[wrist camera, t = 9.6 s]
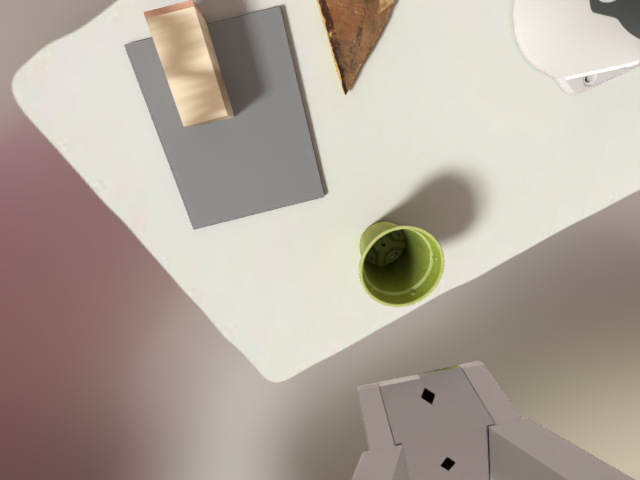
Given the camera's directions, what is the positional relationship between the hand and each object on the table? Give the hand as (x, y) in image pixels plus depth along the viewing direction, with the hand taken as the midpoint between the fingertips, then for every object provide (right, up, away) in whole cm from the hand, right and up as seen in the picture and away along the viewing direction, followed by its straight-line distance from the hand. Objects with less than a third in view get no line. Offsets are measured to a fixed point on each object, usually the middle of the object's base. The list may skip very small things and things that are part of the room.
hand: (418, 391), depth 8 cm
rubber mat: (-12, +17, +31) cm, 37 cm away
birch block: (-14, +16, +28) cm, 35 cm away
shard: (+2, +27, +29) cm, 40 cm away
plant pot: (+6, +3, +37) cm, 37 cm away
